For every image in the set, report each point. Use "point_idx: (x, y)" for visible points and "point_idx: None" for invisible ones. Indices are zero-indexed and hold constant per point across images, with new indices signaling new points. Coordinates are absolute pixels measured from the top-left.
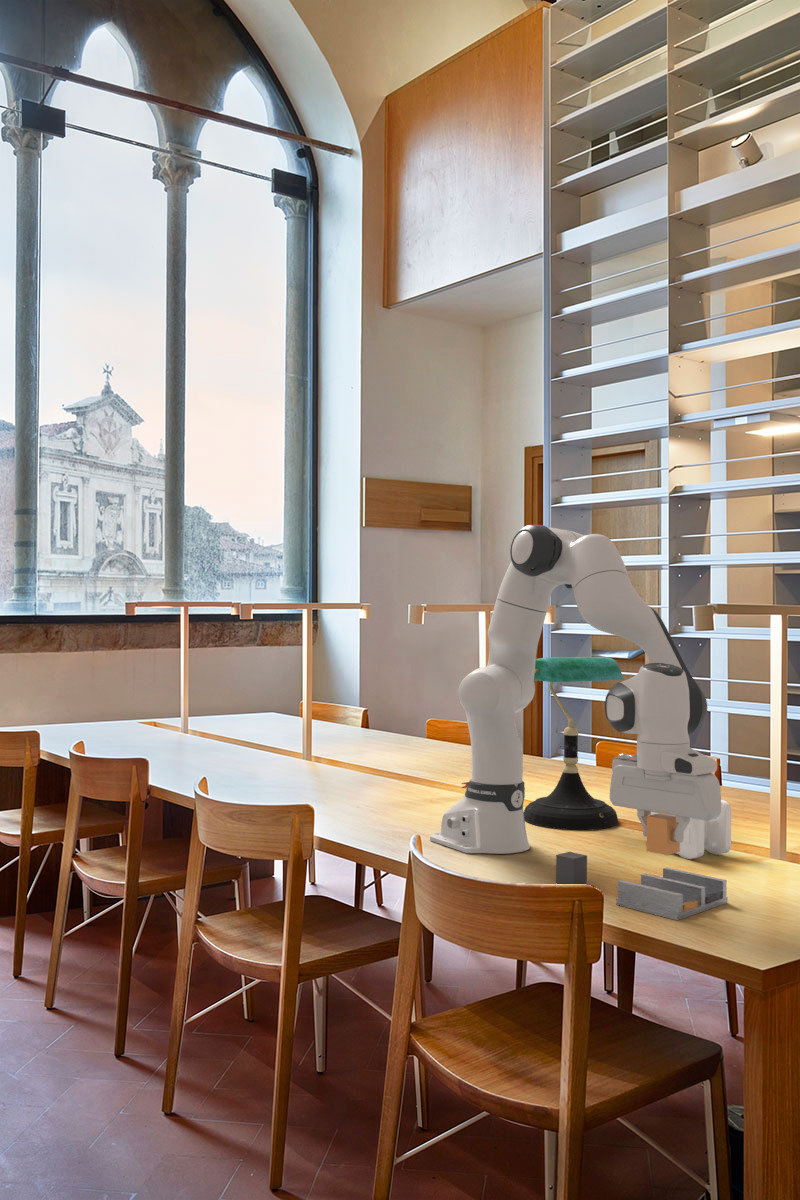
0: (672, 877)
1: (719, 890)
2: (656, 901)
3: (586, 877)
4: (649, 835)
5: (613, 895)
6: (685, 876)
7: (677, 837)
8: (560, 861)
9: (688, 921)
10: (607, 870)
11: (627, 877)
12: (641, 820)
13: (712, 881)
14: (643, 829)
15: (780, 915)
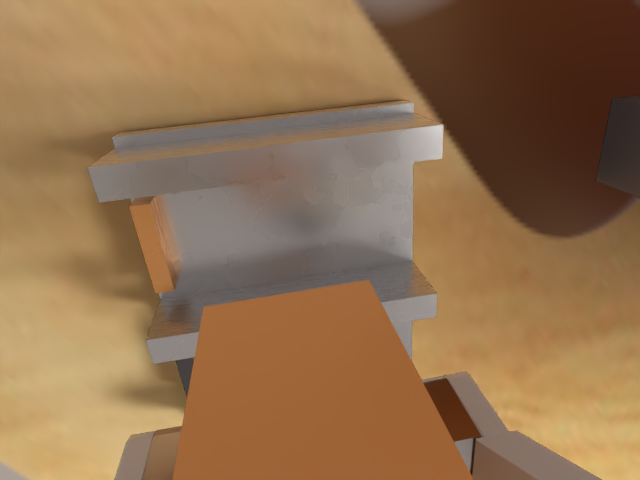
0: None
1: None
2: (222, 139)
3: (628, 190)
4: (377, 359)
5: (482, 190)
6: None
7: (120, 464)
8: None
9: (91, 162)
10: (630, 371)
11: (553, 368)
12: (561, 475)
13: None
14: (487, 406)
15: (22, 448)
